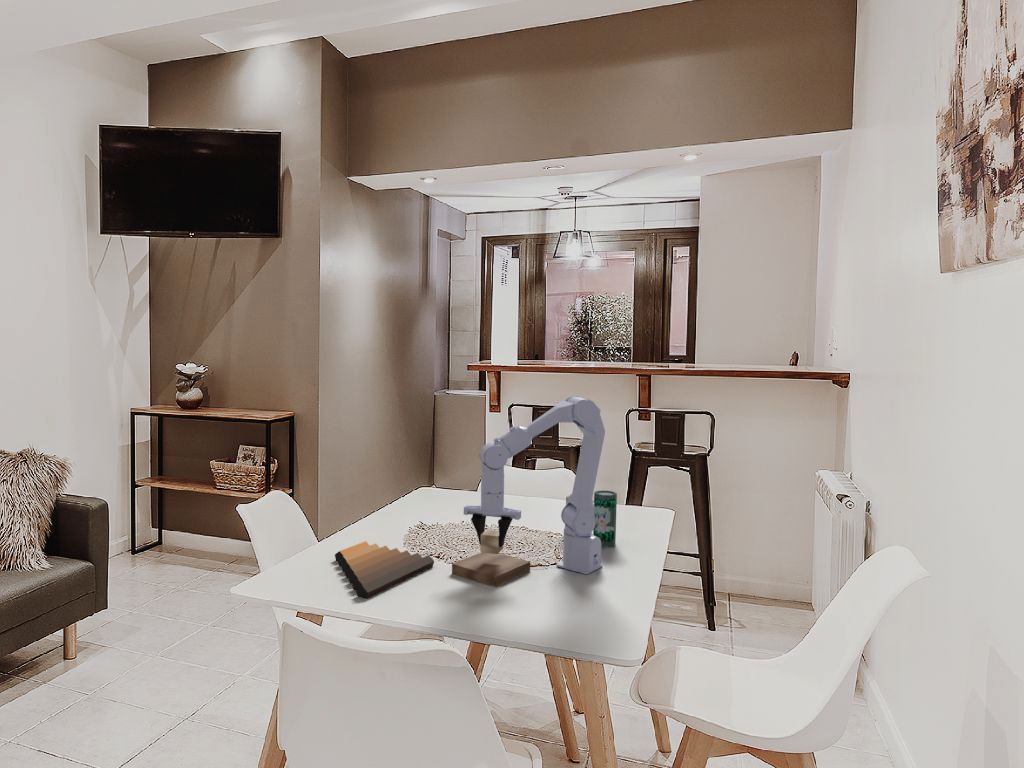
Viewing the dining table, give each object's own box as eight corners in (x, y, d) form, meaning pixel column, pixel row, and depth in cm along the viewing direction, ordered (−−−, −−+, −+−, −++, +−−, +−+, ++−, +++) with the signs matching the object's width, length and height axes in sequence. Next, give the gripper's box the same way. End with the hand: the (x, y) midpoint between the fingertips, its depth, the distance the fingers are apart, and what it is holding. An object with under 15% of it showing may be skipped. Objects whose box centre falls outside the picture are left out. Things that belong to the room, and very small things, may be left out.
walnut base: (530, 571, 169) (530, 561, 169) (495, 587, 158) (495, 576, 158) (487, 559, 178) (488, 550, 178) (451, 573, 167) (452, 563, 167)
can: (590, 545, 191) (591, 493, 190) (597, 539, 197) (599, 489, 196) (610, 548, 188) (612, 496, 187) (617, 543, 194) (619, 492, 193)
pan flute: (367, 601, 150) (434, 569, 171) (367, 587, 149) (434, 556, 171) (289, 580, 162) (361, 552, 184) (289, 566, 162) (361, 540, 183)
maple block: (502, 548, 169) (503, 531, 169) (497, 554, 165) (497, 536, 165) (485, 546, 170) (486, 529, 170) (480, 552, 166) (480, 534, 166)
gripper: (524, 490, 168) (523, 543, 169) (470, 485, 172) (469, 537, 173) (517, 496, 162) (516, 551, 163) (461, 491, 166) (460, 545, 167)
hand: (491, 544), depth 167 cm, fingers closed on maple block, 4 cm apart
